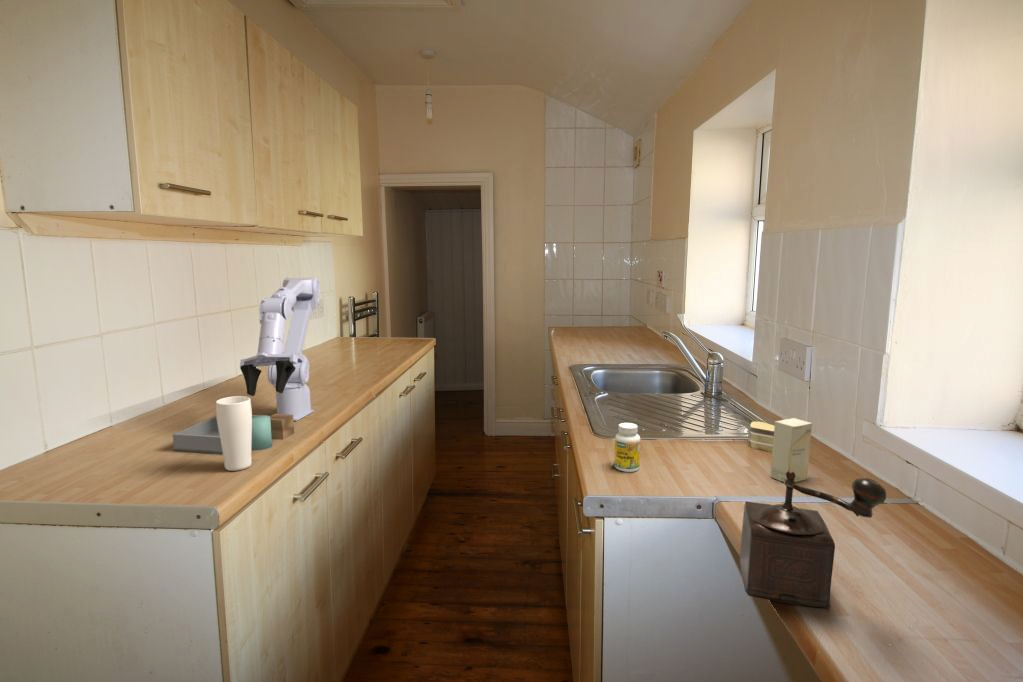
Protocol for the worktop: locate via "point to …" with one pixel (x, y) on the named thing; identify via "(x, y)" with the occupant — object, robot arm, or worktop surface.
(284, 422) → the walnut cube
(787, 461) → the skincare box
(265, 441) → the teal cylinder
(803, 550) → the manual coffee grinder
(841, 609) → the worktop surface
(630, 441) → the supplement bottle
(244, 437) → the drinking glass
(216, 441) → the tray
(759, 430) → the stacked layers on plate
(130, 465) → the worktop surface
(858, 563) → the worktop surface
